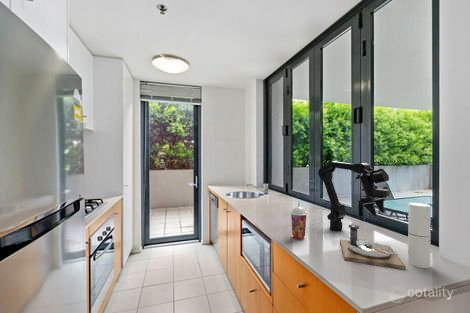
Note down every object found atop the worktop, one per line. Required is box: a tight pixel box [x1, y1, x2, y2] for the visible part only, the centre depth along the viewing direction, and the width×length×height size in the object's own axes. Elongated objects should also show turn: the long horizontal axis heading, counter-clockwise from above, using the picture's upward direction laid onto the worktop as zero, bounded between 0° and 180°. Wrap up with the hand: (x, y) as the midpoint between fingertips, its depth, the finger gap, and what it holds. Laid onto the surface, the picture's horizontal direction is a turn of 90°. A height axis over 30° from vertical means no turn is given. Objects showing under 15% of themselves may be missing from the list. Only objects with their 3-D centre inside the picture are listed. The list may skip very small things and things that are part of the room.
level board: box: [339, 238, 407, 271], centre depth 102 cm, size 22×22×2 cm
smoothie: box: [290, 201, 308, 241], centre depth 122 cm, size 8×8×20 cm
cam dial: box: [348, 224, 391, 258], centre depth 102 cm, size 17×17×10 cm
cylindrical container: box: [407, 202, 432, 269], centre depth 93 cm, size 7×7×25 cm
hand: (379, 214), depth 116 cm, fingers open, 9 cm apart
